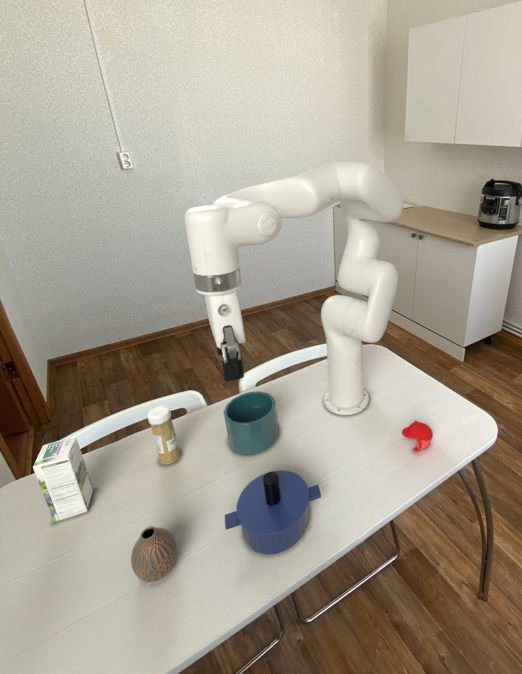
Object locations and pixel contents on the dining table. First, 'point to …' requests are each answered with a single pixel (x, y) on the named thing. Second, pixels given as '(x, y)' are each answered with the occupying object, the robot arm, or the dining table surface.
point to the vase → (154, 554)
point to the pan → (277, 541)
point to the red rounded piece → (419, 434)
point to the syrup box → (63, 478)
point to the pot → (251, 422)
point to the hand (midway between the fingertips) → (230, 365)
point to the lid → (272, 503)
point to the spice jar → (164, 434)
